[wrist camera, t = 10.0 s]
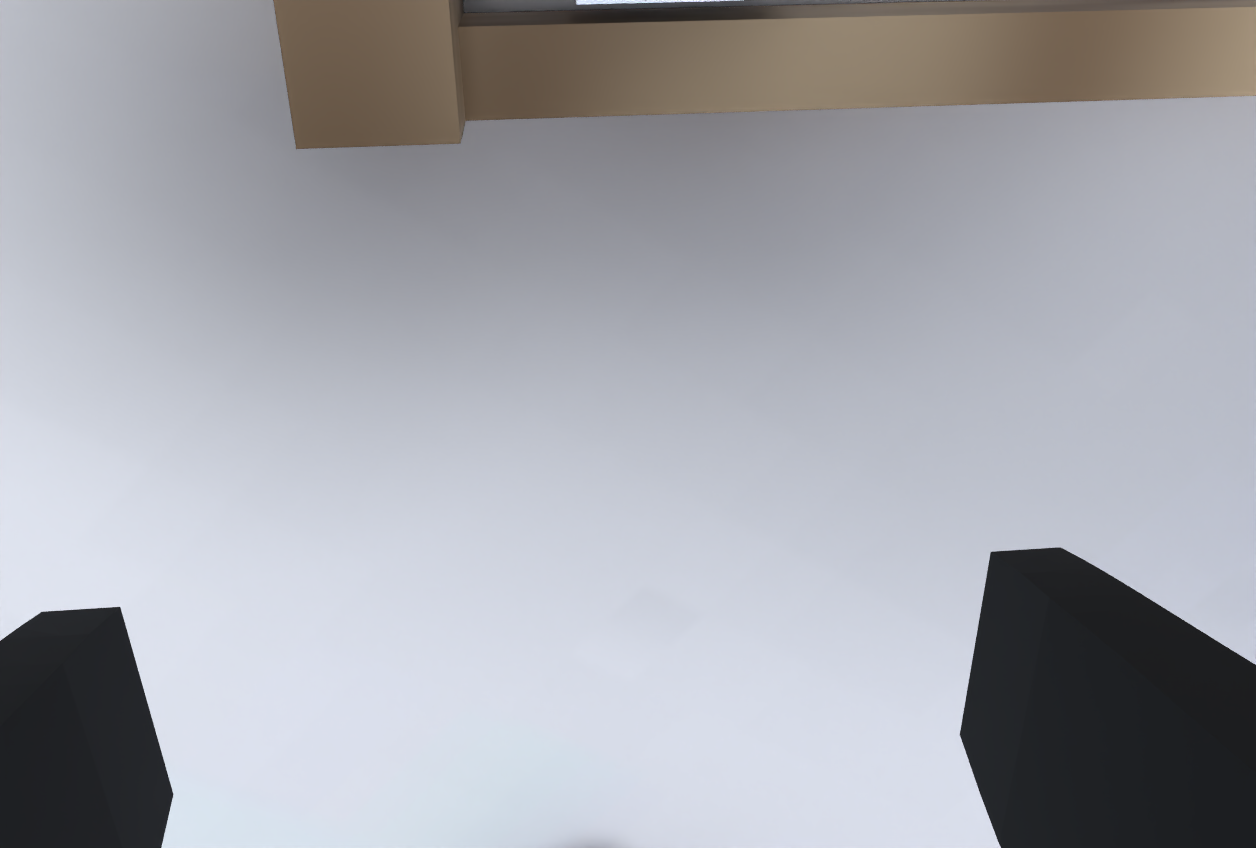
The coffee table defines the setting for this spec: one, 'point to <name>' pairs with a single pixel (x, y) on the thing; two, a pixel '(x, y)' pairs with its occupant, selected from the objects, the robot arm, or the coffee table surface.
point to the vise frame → (737, 60)
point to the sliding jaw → (637, 1)
